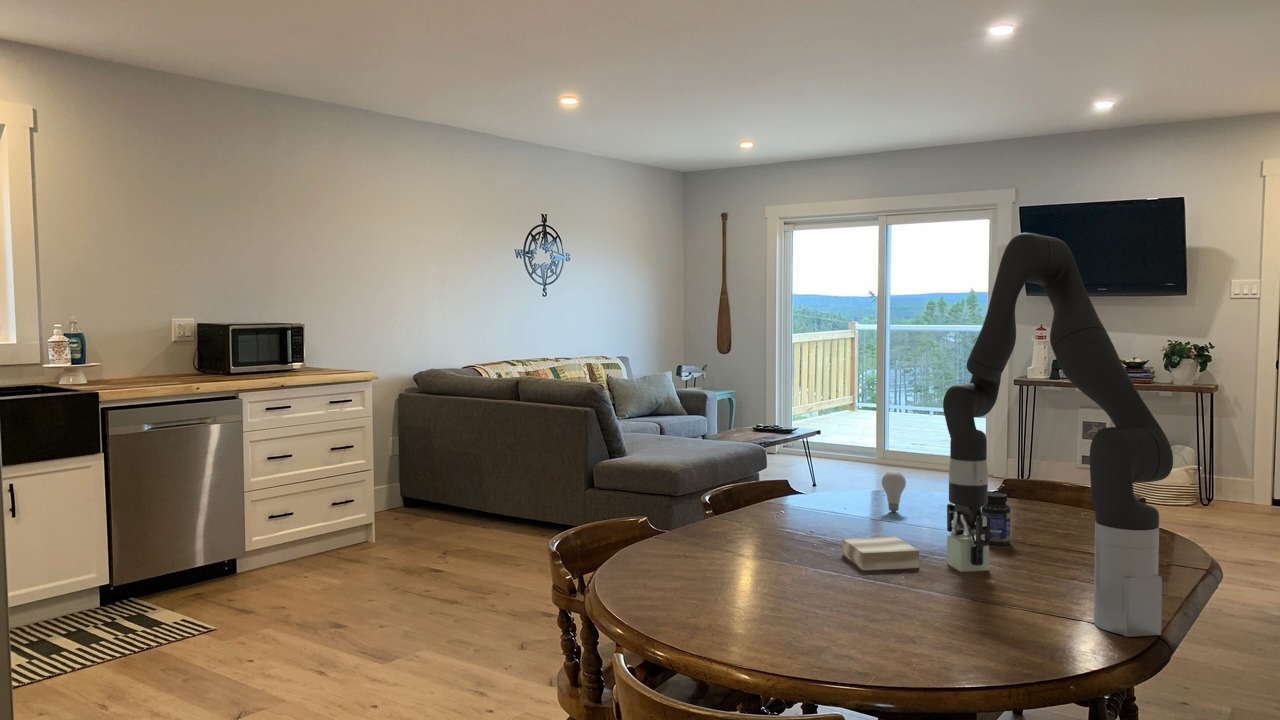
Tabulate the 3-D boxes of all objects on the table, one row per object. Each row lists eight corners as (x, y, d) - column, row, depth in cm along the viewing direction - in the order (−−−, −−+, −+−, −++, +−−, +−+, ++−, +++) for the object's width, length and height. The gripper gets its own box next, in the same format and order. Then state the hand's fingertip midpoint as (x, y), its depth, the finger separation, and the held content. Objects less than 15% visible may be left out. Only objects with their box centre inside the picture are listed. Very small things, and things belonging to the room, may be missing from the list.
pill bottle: (1012, 546, 201) (1013, 497, 200) (983, 545, 202) (984, 496, 201) (1007, 539, 207) (1007, 492, 206) (979, 538, 208) (979, 491, 207)
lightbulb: (881, 514, 235) (881, 472, 234) (882, 509, 241) (882, 468, 240) (905, 515, 233) (905, 473, 233) (905, 510, 239) (905, 469, 238)
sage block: (988, 570, 182) (988, 541, 182) (960, 572, 181) (960, 542, 181) (974, 562, 188) (974, 534, 188) (947, 564, 187) (947, 535, 187)
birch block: (919, 569, 184) (919, 550, 184) (863, 572, 183) (863, 553, 183) (895, 554, 196) (895, 536, 196) (842, 557, 195) (842, 538, 195)
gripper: (1003, 486, 177) (1002, 568, 178) (968, 474, 191) (967, 550, 192) (967, 487, 176) (967, 570, 177) (935, 475, 190) (934, 551, 191)
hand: (967, 559), depth 185 cm, fingers open, 7 cm apart
